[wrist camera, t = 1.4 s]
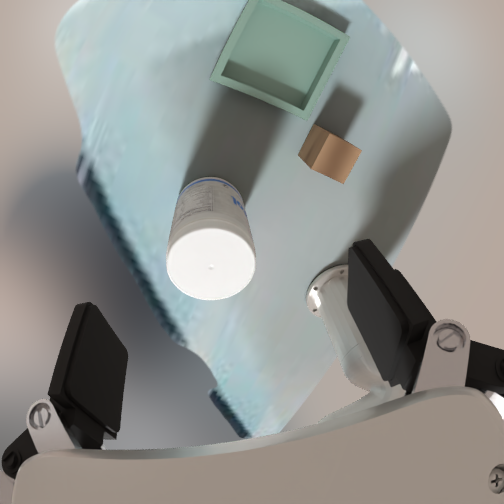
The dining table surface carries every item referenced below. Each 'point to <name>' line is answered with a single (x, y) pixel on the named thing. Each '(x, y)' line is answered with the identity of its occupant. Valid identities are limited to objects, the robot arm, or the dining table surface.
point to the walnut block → (329, 154)
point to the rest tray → (280, 56)
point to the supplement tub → (210, 241)
